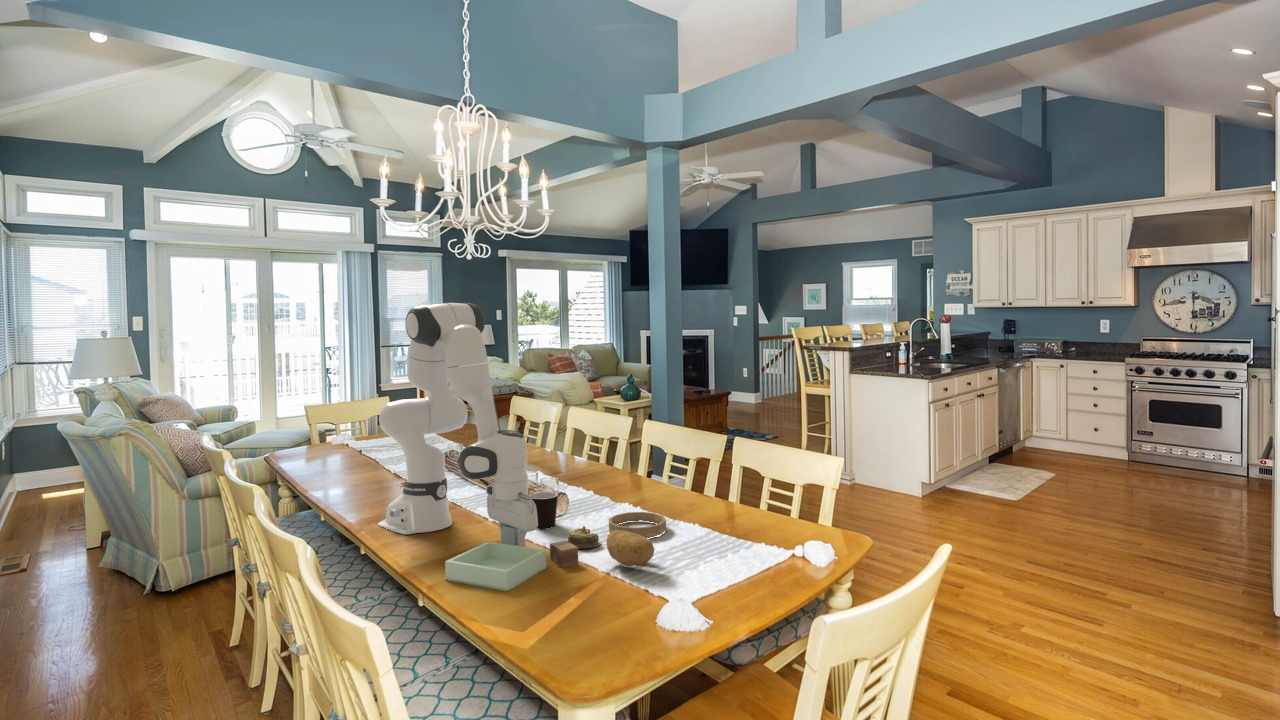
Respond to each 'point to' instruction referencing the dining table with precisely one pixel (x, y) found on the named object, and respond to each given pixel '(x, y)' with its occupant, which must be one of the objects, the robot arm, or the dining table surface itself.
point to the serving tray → (496, 566)
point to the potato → (629, 548)
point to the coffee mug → (545, 508)
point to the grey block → (509, 535)
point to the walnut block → (564, 553)
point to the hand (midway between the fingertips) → (512, 540)
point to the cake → (583, 538)
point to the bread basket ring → (637, 516)
